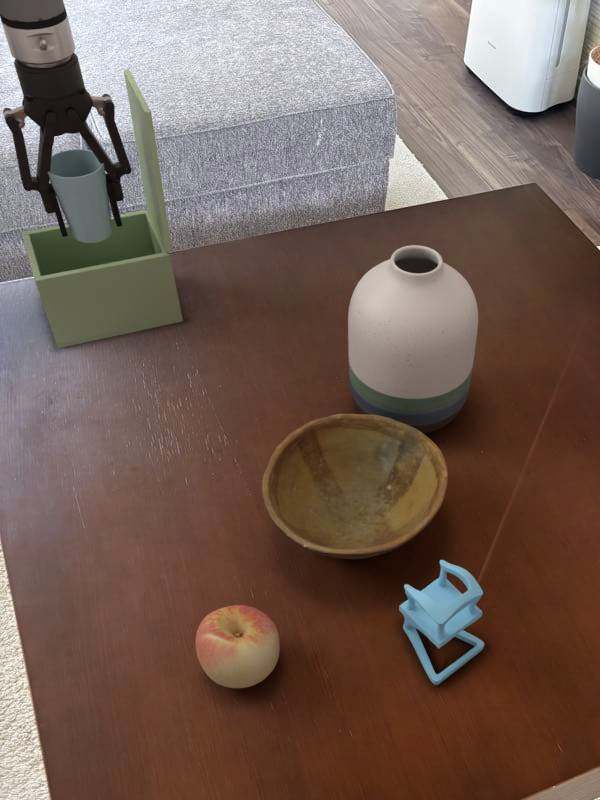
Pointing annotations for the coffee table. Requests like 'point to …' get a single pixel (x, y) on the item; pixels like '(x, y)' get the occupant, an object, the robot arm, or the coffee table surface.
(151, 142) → the lid
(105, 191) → the cup
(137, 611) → the coffee table surface
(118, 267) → the chest
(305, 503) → the bowl
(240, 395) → the coffee table surface
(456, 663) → the chair
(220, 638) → the apple
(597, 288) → the coffee table surface
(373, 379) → the vase
